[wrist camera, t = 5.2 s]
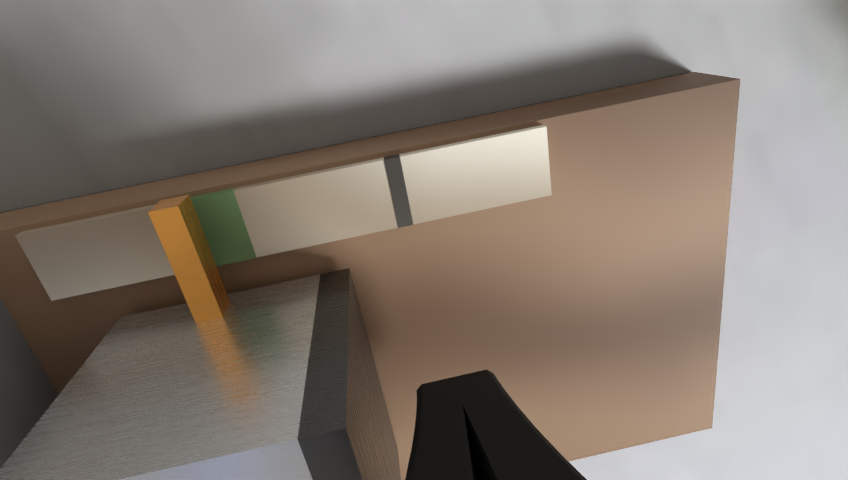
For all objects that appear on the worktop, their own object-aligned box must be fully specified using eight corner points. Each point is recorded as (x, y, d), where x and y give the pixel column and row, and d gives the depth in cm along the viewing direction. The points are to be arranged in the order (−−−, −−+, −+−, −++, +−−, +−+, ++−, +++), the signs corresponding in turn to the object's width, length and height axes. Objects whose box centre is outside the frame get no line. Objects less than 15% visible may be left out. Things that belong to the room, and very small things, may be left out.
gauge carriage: (398, 448, 12) (417, 656, 8) (208, 492, 12) (135, 726, 8) (321, 163, 9) (296, 271, 5) (69, 215, 9) (-156, 368, 5)
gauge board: (679, 391, 15) (863, 600, 10) (71, 531, 14) (-104, 844, 9) (693, 71, 11) (1007, 120, 6) (-133, 240, 11) (-649, 473, 5)
